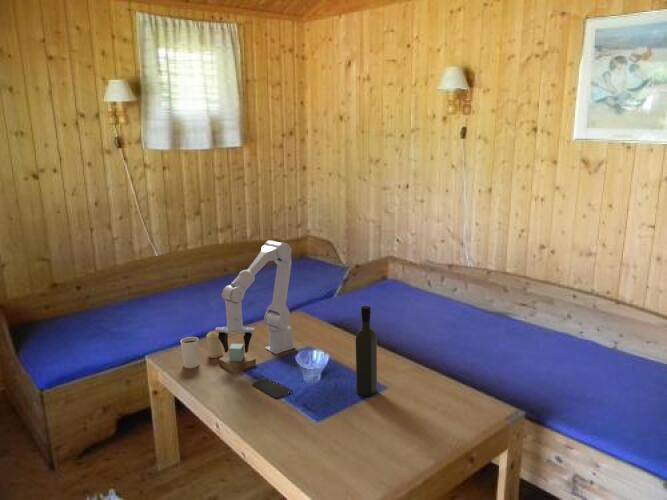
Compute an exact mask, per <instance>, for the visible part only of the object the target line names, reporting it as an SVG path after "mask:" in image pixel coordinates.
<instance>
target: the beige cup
mask: <svg viewBox="0 0 667 500" xmlns="http://www.w3.org/2000/svg"><path fill="white" fill-rule="evenodd" d="M199 343H200V340H199V338H198V337H196V336H187V337H184V338H182V339H181V340H180V345H181V346H180V347H181V355H182V362H183V367H184V368H185V369H194V368H197V367H198V366H199V365H200V347H199V346H200V344H199Z"/></svg>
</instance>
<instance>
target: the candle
mask: <svg viewBox="0 0 667 500" xmlns="http://www.w3.org/2000/svg"><path fill="white" fill-rule="evenodd" d="M218 336H219V334H216V329H214V330H213V329H212V330H210V331H208V333H207V334H206V344H207V346H206V347H207V356H208V357H209V358H211V359H216V358H221V357H223V345H222V343H221V341H220V340H219V338H218Z"/></svg>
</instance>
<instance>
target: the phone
mask: <svg viewBox="0 0 667 500" xmlns="http://www.w3.org/2000/svg"><path fill="white" fill-rule="evenodd" d="M268 378H269V377H266V378H262V379H259V380H257V381H255V382H253V383H252V384H251V386H252V387H254V388H255V389H256V390H259V391H260V392H262V393H264V394H266V395H268V396H269V397H271V398H273V399H274V400H279V399H282V398H284V397H285V396H284V395H286V394H288V392H289V391H290V392H292V393H293V389H291V388H289V387H287V386H285V385H283V384H281V383H279V382H278V381H276V382H277V384H276V382H274V381H275V380H274V381H272V380H273V379H272V378H270V380H271V379H272V380H271V382H270V380H269V379H268ZM273 383H274V384H273ZM280 385H281V386H280ZM282 386H283V387H282ZM290 392H289V393H290ZM283 396H284V397H283ZM281 397H282V398H281Z"/></svg>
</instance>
